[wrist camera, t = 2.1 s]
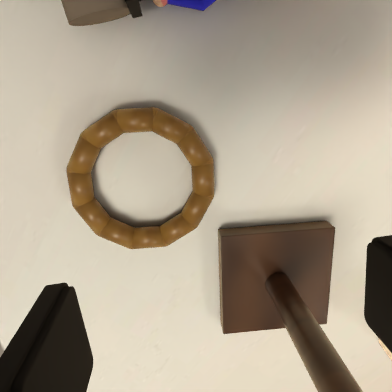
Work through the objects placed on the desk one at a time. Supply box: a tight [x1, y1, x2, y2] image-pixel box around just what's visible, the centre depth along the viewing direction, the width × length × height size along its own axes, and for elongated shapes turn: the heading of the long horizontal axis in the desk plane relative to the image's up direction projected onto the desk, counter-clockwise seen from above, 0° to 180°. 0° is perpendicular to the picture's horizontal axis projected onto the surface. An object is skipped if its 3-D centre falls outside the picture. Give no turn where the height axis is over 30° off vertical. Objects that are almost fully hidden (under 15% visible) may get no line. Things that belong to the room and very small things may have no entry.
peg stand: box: [218, 221, 363, 392], centre depth 22 cm, size 9×9×14 cm
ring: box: [67, 107, 214, 249], centre depth 24 cm, size 10×10×2 cm
